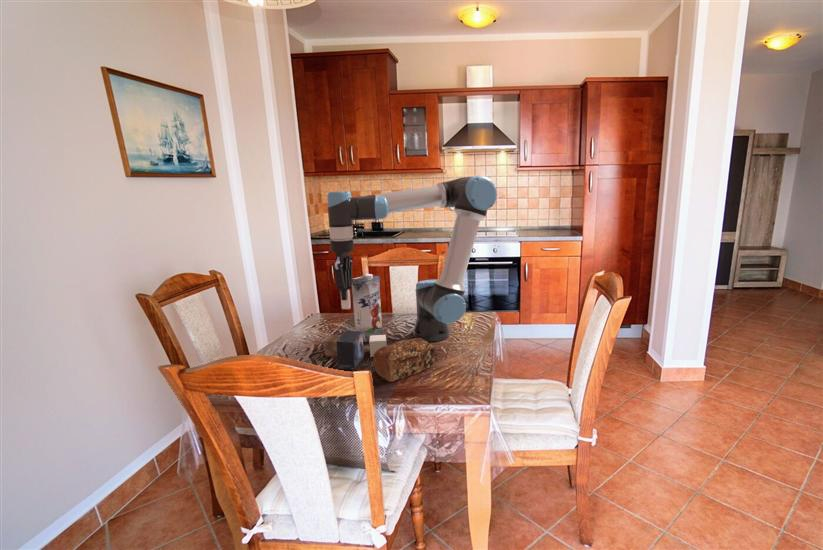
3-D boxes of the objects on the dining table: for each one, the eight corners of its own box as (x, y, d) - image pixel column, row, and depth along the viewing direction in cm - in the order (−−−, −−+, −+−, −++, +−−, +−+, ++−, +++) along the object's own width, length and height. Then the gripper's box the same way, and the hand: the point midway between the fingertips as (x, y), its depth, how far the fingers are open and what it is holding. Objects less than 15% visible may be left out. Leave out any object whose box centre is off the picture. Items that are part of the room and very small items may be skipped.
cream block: (386, 349, 149) (385, 334, 148) (386, 356, 144) (385, 340, 142) (370, 350, 149) (369, 335, 148) (370, 357, 143) (369, 341, 142)
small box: (355, 371, 132) (353, 341, 130) (337, 370, 134) (334, 341, 132) (365, 357, 143) (363, 330, 140) (348, 357, 144) (346, 330, 142)
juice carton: (352, 340, 160) (347, 275, 154) (369, 332, 168) (365, 270, 162) (369, 344, 155) (364, 277, 149) (385, 335, 163) (382, 272, 157)
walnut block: (347, 351, 149) (346, 336, 148) (338, 357, 144) (337, 342, 143) (333, 349, 151) (332, 334, 150) (325, 355, 146) (323, 340, 145)
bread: (390, 385, 122) (388, 355, 120) (373, 373, 131) (371, 345, 129) (436, 367, 133) (435, 339, 131) (417, 357, 141) (416, 331, 139)
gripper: (338, 237, 136) (342, 302, 141) (322, 242, 123) (328, 313, 128) (359, 236, 134) (362, 303, 139) (345, 242, 122) (350, 314, 127)
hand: (346, 308), depth 134 cm, fingers closed
